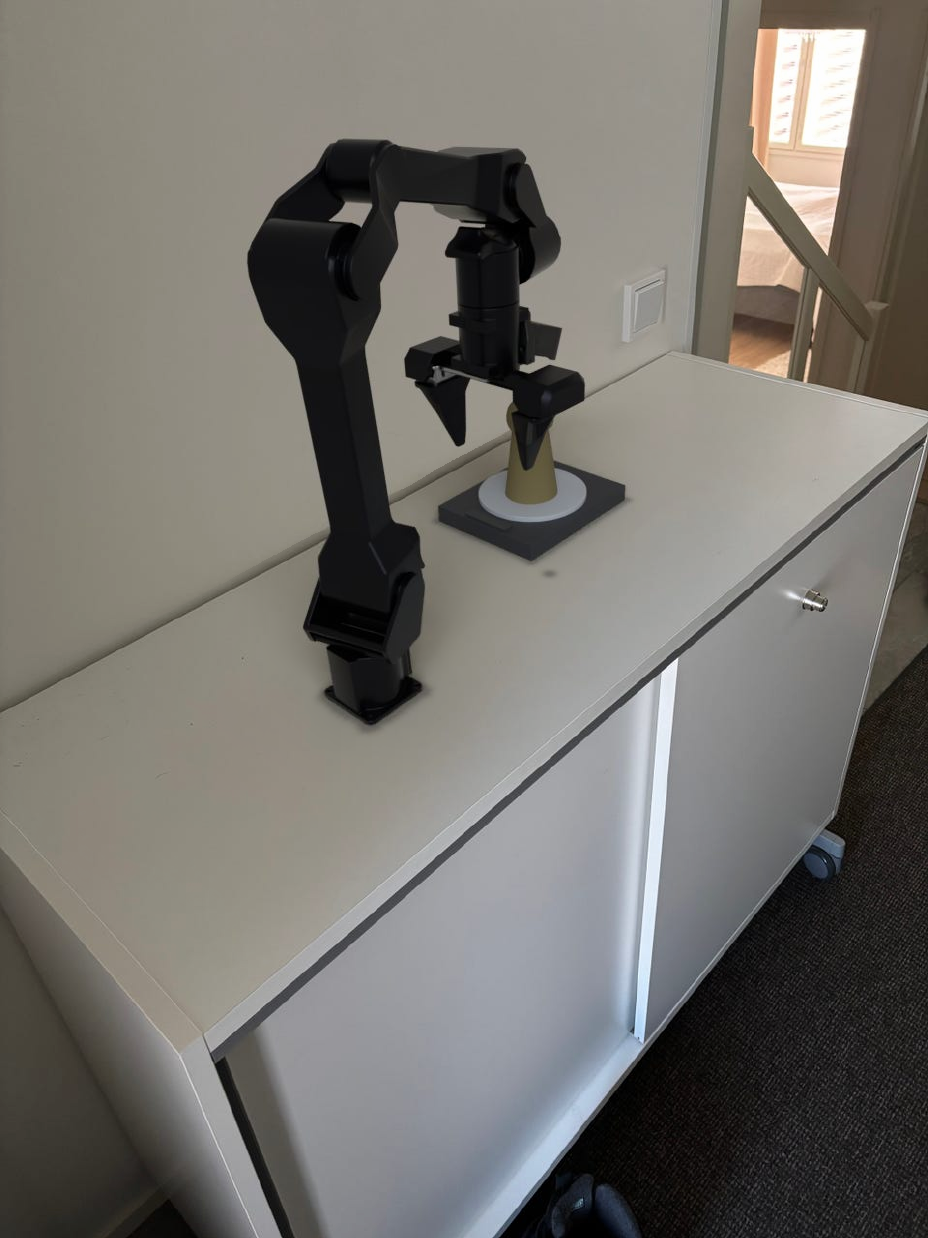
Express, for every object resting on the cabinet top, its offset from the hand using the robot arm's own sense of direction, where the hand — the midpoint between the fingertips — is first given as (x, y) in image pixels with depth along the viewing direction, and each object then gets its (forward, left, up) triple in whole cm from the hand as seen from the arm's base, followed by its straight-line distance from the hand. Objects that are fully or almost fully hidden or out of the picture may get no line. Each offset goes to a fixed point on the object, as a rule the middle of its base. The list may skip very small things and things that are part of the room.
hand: (493, 456), depth 93 cm
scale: (+10, +3, -12) cm, 16 cm away
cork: (+10, +3, -9) cm, 14 cm away
